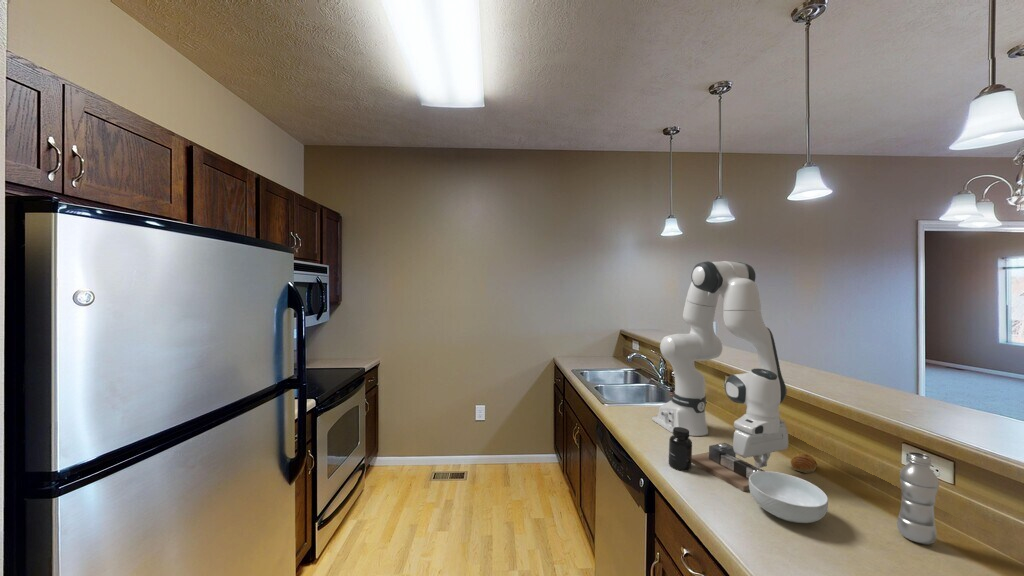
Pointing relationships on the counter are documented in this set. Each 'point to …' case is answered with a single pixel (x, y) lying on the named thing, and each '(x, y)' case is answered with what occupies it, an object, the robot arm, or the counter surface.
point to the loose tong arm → (743, 462)
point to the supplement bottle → (680, 449)
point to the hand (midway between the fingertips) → (760, 466)
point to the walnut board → (721, 471)
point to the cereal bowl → (788, 496)
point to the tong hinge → (720, 452)
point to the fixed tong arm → (737, 466)
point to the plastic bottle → (918, 499)
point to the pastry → (803, 463)
